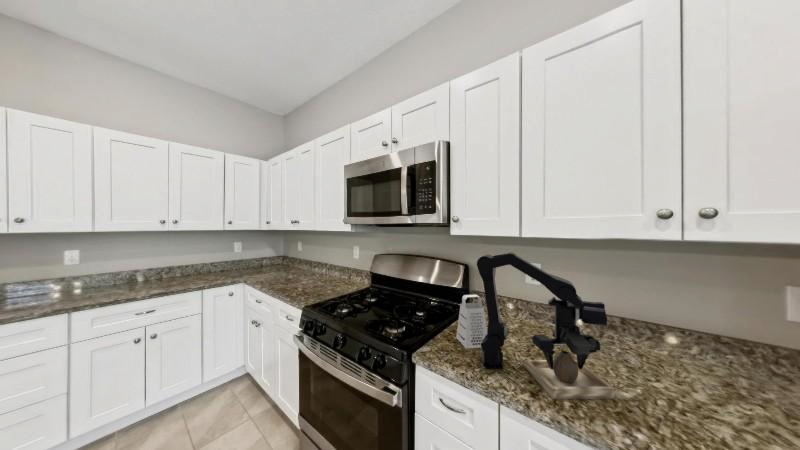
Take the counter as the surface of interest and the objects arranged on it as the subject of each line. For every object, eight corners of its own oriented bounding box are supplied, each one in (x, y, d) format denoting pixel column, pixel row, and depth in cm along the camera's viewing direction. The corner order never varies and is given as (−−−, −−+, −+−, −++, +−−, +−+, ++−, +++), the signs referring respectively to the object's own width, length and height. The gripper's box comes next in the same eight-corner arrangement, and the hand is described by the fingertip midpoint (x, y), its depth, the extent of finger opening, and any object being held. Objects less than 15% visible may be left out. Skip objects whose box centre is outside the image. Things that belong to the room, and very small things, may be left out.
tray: (552, 399, 74) (552, 388, 74) (525, 368, 90) (525, 360, 90) (614, 398, 74) (614, 388, 74) (576, 368, 90) (576, 359, 90)
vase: (579, 388, 78) (579, 360, 78) (552, 381, 81) (552, 354, 81) (577, 377, 84) (577, 350, 83) (552, 371, 87) (552, 345, 87)
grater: (489, 346, 107) (489, 298, 107) (465, 348, 105) (465, 299, 105) (478, 335, 117) (477, 292, 117) (456, 337, 116) (455, 293, 116)
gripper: (550, 330, 74) (551, 384, 74) (615, 330, 74) (615, 384, 74) (531, 316, 85) (531, 363, 85) (587, 316, 85) (587, 363, 85)
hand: (565, 368), depth 82 cm, fingers open, 9 cm apart
